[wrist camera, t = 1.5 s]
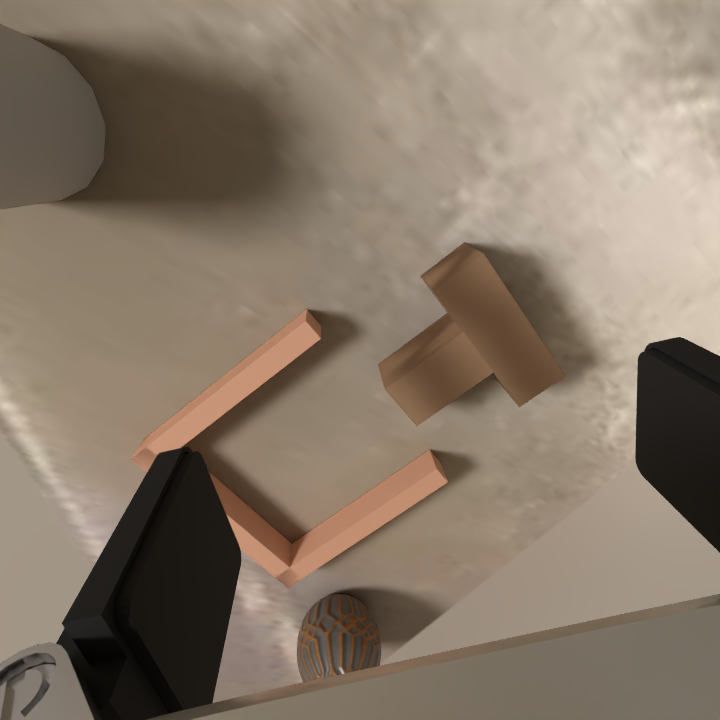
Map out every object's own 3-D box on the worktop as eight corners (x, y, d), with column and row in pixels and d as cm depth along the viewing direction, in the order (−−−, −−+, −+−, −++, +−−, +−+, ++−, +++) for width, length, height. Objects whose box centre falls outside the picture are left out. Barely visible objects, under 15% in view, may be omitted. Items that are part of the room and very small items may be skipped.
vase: (283, 618, 42) (274, 725, 34) (328, 569, 41) (330, 670, 33) (345, 646, 44) (350, 754, 36) (391, 601, 43) (407, 703, 34)
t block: (464, 242, 31) (483, 253, 27) (539, 353, 34) (565, 375, 30) (349, 330, 32) (352, 352, 29) (431, 427, 36) (444, 458, 32)
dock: (306, 309, 32) (305, 320, 29) (440, 462, 37) (448, 482, 35) (143, 439, 34) (130, 459, 32) (290, 563, 40) (287, 587, 38)
